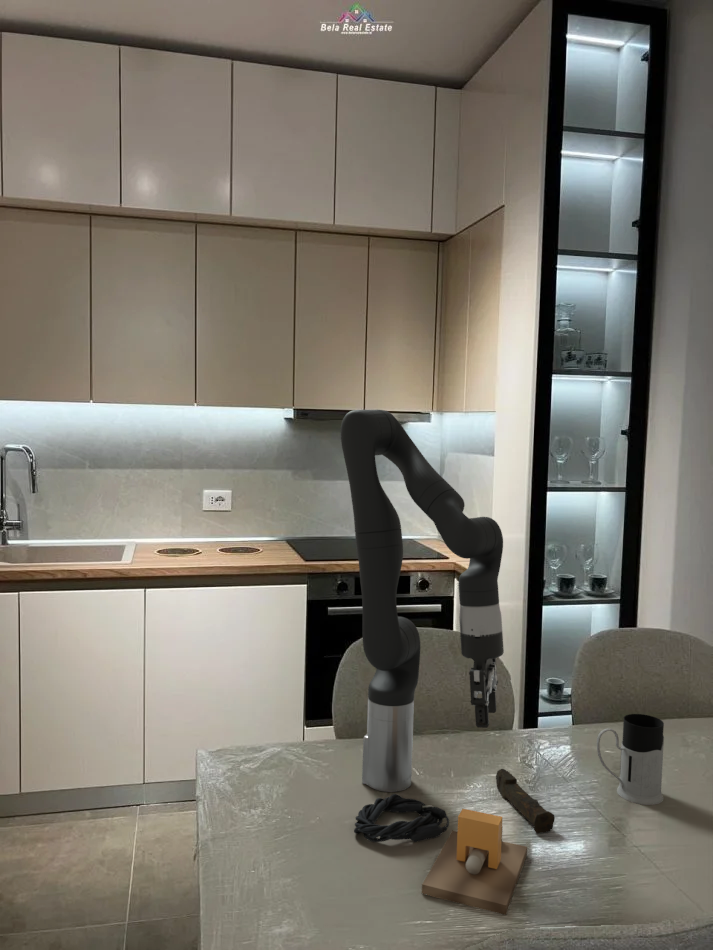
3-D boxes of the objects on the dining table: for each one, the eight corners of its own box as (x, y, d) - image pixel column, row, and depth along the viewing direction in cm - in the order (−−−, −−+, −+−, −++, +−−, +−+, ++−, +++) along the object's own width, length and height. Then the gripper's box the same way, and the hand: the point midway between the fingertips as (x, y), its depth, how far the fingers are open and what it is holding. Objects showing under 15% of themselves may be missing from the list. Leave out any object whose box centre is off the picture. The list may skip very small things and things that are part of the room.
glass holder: (672, 803, 155) (676, 727, 154) (606, 808, 152) (610, 731, 151) (647, 783, 163) (650, 711, 162) (583, 787, 160) (587, 715, 159)
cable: (369, 857, 133) (370, 832, 132) (335, 818, 145) (336, 795, 145) (456, 837, 140) (457, 813, 140) (417, 802, 153) (418, 780, 152)
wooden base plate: (421, 893, 122) (422, 867, 122) (452, 838, 139) (452, 815, 138) (505, 915, 117) (507, 888, 117) (526, 855, 134) (527, 831, 134)
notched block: (456, 859, 129) (458, 816, 128) (461, 850, 131) (462, 808, 131) (496, 869, 126) (498, 825, 126) (500, 859, 129) (502, 816, 128)
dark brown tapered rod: (555, 833, 142) (556, 808, 142) (534, 835, 141) (535, 810, 141) (509, 786, 160) (510, 764, 160) (491, 788, 159) (492, 765, 159)
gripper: (467, 621, 150) (473, 707, 150) (452, 637, 137) (458, 731, 136) (507, 621, 148) (513, 708, 148) (495, 637, 134) (501, 733, 134)
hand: (486, 719), depth 142 cm, fingers open, 8 cm apart
